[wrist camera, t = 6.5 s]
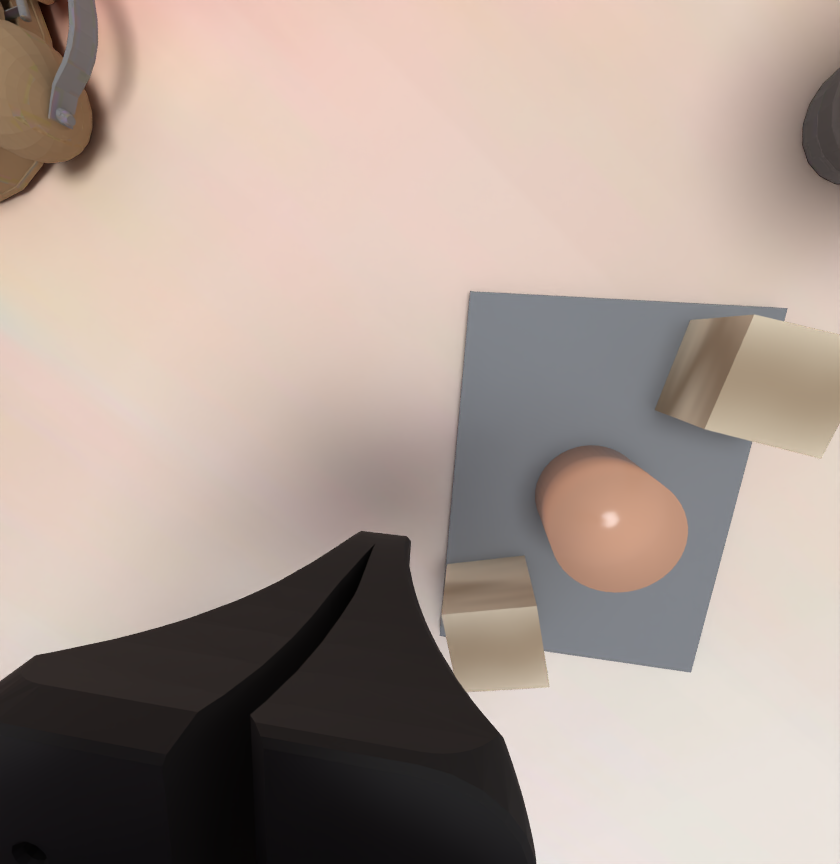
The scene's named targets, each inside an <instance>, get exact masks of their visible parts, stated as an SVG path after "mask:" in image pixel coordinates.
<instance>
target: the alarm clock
mask: <svg viewBox="0 0 840 864" xmlns="http://www.w3.org/2000/svg"><path fill="white" fill-rule="evenodd" d="M37 1H39V2H42V3H44V4H47V5H49V4H53V3H54V1H55V0H0V202H1V201H3V200H5V199H7V198H9V197H10V196H12V195H14V194H16V193H18V192H20V191H22V190H24V188H25V187H26V186H27V185H28V183H29V182H30V181H31V180H32V178H33V177H34V176H35V175H36V173H37V172H38V171H39V169H40V168H41V167H42V166H43V163H56V162H64V161H68V160H70V159H72V158H74V157H76V156H77V155H79V154H81V153H82V151H83V150H84V148H85V147H86V146H87V144H88V143H89V140H90V136H91V132H92V128H93V126H92V110H91V106H90V103H89V99H88V96H87V93H86V91H85V89H84V87H85V85H86V84H87V82H88V80H89V78H90V76H91V73H92V69H93V66H94V63H95V59H96V53H97V46H98V23H97V13H96V7H95V0H68V8H69V33H68V40H67V47H66V50H65V53H64V57H62V56H61V54H60V53H59V52H57V51H56V50H55V49H54V48H53V46H52V39H51V37H50V34H49V31H48V29H47V26H46V23H45V21H44V18H43V15H42V12H41V10H40V7H39V4H38V2H37Z"/></svg>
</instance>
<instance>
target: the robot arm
mask: <svg viewBox="0 0 840 864" xmlns="http://www.w3.org/2000/svg"><path fill="white" fill-rule="evenodd" d="M410 547H411V541H410V540H409V538H408V537H406V536H398V535H390V534H382V533H373V532H365V531H361V532H359V533H357V534H355V535H354V536H352V537H351V538H349V539H348V540H346V541H345V542H343V543H342V544H340V545H339V546H337V547H336V548H334V549H333V550H331V551H329V552H328V553H326V554H325V555H323V556H322V557H320V558H318V559H317V560H315V561H314V562H312V563H310V564H309V565H307V566H305V567H303V568H302V569H300V570H298V571H296V572H294V573H293V574H291V575H289V576H287V577H286V578H284V579H282V580H280V581H278V582H276V583H274V584H272V585H270V586H268V587H266V588H264V589H262V590H260V591H258V592H255V593H253V594H251V595H249V596H246V597H244V598H242V599H240V600H237V601H235V602H232V603H229V604H227V605H224V606H221V607H219V608H216V609H213V610H210V611H208V612H205V613H202V614H199V615H197V616H194V617H191V618H188V619H185V620H182V621H179V622H175V623H172V624H169V625H165V626H162V627H159V628H155V629H151V630H148V631H144V632H140V633H137V634H133V635H129V636H125V637H121V638H117V639H113V640H108V641H104V642H99V643H94V644H89V645H85V646H80V647H75V648H71V649H66V650H61V651H56V652H51V653H46V654H40V655H36V656H34V657H33V658H31V659H30V660H29V661H27V662H26V663H25V664H23V665H22V666H20V667H19V668H18V669H16V670H15V671H14V672H12V673H11V674H9V675H8V676H7V677H5V678H4V679H3V680H1V681H0V864H536V856H535V849H534V843H533V838H532V833H531V829H530V824H529V820H528V816H527V812H526V808H525V804H524V800H523V796H522V793H521V789H520V786H519V783H518V779H517V776H516V773H515V770H514V767H513V764H512V761H511V758H510V755H509V752H508V749H507V746H506V744H505V741H504V738H503V737H502V736H501V734H500V733H499V732H498V731H497V730H496V729H495V727H494V726H493V725H492V724H491V723H490V722H489V720H488V719H487V718H486V717H485V716H484V715H483V713H482V712H481V711H480V710H479V708H478V707H477V706H476V705H475V703H474V702H473V701H472V699H471V698H470V697H469V695H468V694H467V692H466V691H465V690H464V688H463V687H462V685H461V684H460V683H459V681H458V680H457V678H456V677H455V675H454V673H453V672H452V670H451V668H450V667H449V665H448V663H447V662H446V660H445V658H444V657H443V655H442V653H441V652H440V650H439V648H438V646H437V645H436V642H435V640H434V638H433V636H432V634H431V632H430V630H429V628H428V626H427V623H426V621H425V619H424V616H423V614H422V611H421V608H420V606H419V603H418V600H417V596H416V593H415V590H414V586H413V582H412V577H411V572H410V567H409V563H410Z"/></svg>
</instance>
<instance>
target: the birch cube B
mask: <svg viewBox="0 0 840 864" xmlns="http://www.w3.org/2000/svg"><path fill="white" fill-rule="evenodd" d="M655 410H656V411H659V412H661V413H664V414H666V415H669V416H672V417H674V418H677V419H679V420H682V421H685V422H687V423H690V424H692V425H695V426H697V427H700V428H703V429H706V430H710V431H713V432H717V433H721V434H725V435H729V436H733V437H737V438H741V439H745V440H749V441H753V442H757V443H761V444H764V445H768V446H772V447H776V448H780V449H784V450H788V451H792V452H796V453H800V454H804V455H808V456H811V457H815V458H819V459H821V458H822V456H823V454H824V452H825V450H826V448H827V446H828V445H829V443H830V441H831V439H832V437H833V435H834V433H835V431H836V429H837V427H838V425H839V423H840V334H835V333H831V332H827V331H823V330H818V329H814V328H810V327H806V326H801V325H797V324H793V323H789V322H784V321H780V320H776V319H772V318H767V317H763V316H759V315H755V314H754V315H743V316H731V317H720V318H709V319H697V320H690V322H689V325H688V327H687V330H686V332H685V335H684V337H683V340H682V342H681V345H680V347H679V350H678V352H677V355H676V357H675V360H674V362H673V365H672V367H671V370H670V372H669V375H668V377H667V380H666V382H665V385H664V387H663V390H662V393H661V395H660V398H659V400H658V403H657V405H656V408H655Z"/></svg>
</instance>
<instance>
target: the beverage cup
mask: <svg viewBox="0 0 840 864" xmlns="http://www.w3.org/2000/svg"><path fill="white" fill-rule="evenodd" d="M803 147H804V150H805V153H806V157H807V160H808V163H809V164H810V165H811V166H812V167H813V168H814V170H815V171H816V172H817V173H818V174H819V175H820V176H821V177H823V178H825V179H827V180H829V181H831V182H833V183H835V184H840V68H839V69H838V70H837V71H836V72H835V73H834V74H833V75H832V76H831V77H830V78H829V79H828V80H827V81H825V82H824V83H823V85H822V86H821V88H820V89H819V91H818V92H817V94H816V95H815V97H814V98H813V100H812V102H811V103H810V106H809V109H808V112H807V115H806V118H805V121H804V124H803Z"/></svg>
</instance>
